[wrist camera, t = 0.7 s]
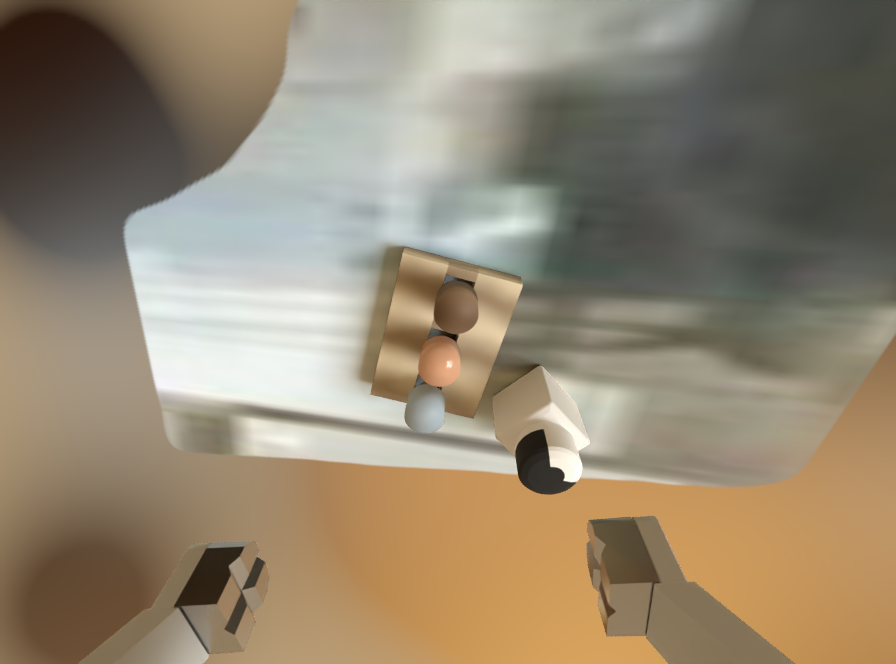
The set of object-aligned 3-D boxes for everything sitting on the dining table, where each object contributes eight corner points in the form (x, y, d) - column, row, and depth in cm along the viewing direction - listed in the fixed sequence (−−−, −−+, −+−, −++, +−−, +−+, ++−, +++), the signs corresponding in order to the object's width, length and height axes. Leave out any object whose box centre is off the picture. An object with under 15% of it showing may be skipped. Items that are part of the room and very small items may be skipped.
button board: (405, 246, 45) (402, 252, 43) (520, 277, 46) (523, 284, 44) (373, 384, 53) (370, 394, 51) (473, 407, 54) (473, 418, 52)
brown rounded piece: (442, 268, 44) (439, 288, 39) (482, 279, 44) (484, 299, 40) (432, 305, 45) (428, 328, 41) (470, 314, 46) (471, 338, 41)
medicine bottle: (527, 433, 55) (542, 514, 45) (490, 396, 53) (497, 473, 42) (576, 402, 53) (605, 480, 42) (540, 362, 51) (561, 434, 40)
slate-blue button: (414, 370, 49) (409, 397, 45) (449, 378, 50) (448, 406, 45) (406, 399, 51) (400, 428, 47) (440, 407, 51) (438, 436, 47)
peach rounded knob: (427, 322, 46) (423, 346, 42) (465, 331, 47) (465, 356, 42) (418, 354, 48) (413, 381, 44) (454, 363, 49) (453, 390, 44)
